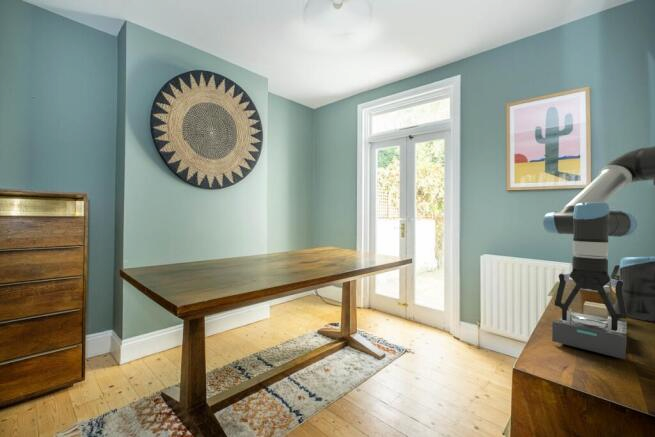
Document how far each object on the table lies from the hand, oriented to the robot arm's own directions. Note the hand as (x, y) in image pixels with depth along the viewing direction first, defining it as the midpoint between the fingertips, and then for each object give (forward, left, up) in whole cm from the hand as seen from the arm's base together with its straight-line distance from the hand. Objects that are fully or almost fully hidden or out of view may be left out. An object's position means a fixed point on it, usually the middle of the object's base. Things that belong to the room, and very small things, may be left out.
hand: (588, 336), depth 83 cm
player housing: (-10, -10, -3) cm, 14 cm away
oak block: (-19, -19, -3) cm, 28 cm away
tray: (-1, -1, -2) cm, 2 cm away
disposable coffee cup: (-28, -30, -3) cm, 42 cm away
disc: (0, 0, +4) cm, 4 cm away
